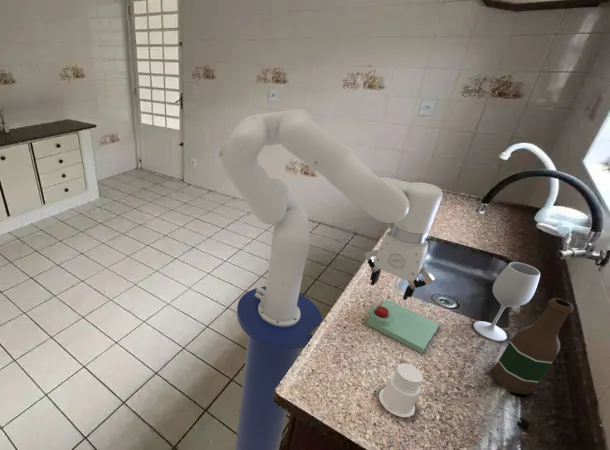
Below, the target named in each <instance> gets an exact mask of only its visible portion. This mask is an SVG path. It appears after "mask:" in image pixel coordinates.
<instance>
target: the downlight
mask: <svg viewBox="0 0 610 450" xmlns="http://www.w3.org/2000/svg"><path fill="white" fill-rule="evenodd" d="M422 374H423V373H422V372H421V371H420V370H419V369H418V368H417V367H415V366H414V365H412V364H409V363H400V364H398V365H397V366H396V370H395V371H394V372H392V373H391V374H390V375H389V378H388V380H387V381H386V384H385V387H384V388H382V389H381V390H380V391H379V393H378V399H379V402H380V404H381V405H382V407H384V409H385V410H387V411H388V412H389V413H390V414H392V415H394V416H397V417H399V418H411V417H413V416H414V414H415V413H416V406H415V404H416V402H417V400H418V398H419V396H420V394H421V391H422V387H421V382H422V381H423V375H422Z"/></svg>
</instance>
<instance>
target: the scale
mask: <svg viewBox="0 0 610 450" xmlns="http://www.w3.org/2000/svg"><path fill="white" fill-rule="evenodd" d="M380 306H382V307H385V308H387V309H388V311H389V312H388V315H387V317H386V318H381V317H378V316H377V315H376V314H375V311H376V308H377V307H378V306H377V305H375V306H371V307H370V308H369V309H368V313H367V317H368V319H367V321H366V325H367V326H368V327H371V328H373V329H374V330H377V331H378V332H380V333H382V334H383V335H386V336H387V337H390V338H392V339H394V340H395V341H397V342H399V343H401V344H402V345H404V346H406V347H408V348H411V349H412V350H414V351H416V352H418V353H419V354H422V353H423V352H424V350H425V349H426V347H427V345H428V344H429V342H430V341H431V339H432V338H433V336H434V334H435V333H436V331H437V330H438V328H439V326H440V323H439V322H436V321H434V320H432V319H429V318H427V317H426V316H423V315H422V314H419V313H417V312H415V311H413V310H411V309H409V308H407V307H404V306H402V305H399V304H398V303H395V302H393V301H392V300H389V299H387V298H386V299H385V300H384V301H383V303H381V305H380Z"/></svg>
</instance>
